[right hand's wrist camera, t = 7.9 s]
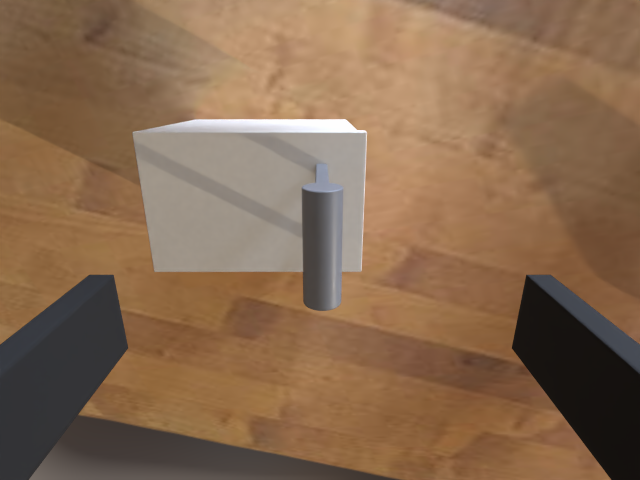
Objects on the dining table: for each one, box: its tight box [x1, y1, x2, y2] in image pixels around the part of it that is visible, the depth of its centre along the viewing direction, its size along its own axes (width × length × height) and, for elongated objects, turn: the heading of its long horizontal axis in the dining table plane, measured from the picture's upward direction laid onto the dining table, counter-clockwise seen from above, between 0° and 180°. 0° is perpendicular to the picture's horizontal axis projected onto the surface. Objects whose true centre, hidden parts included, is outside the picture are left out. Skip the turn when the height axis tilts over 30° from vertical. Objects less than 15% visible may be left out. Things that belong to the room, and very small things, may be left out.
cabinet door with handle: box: [132, 130, 367, 311], centre depth 22 cm, size 14×9×9 cm, turn 90°
